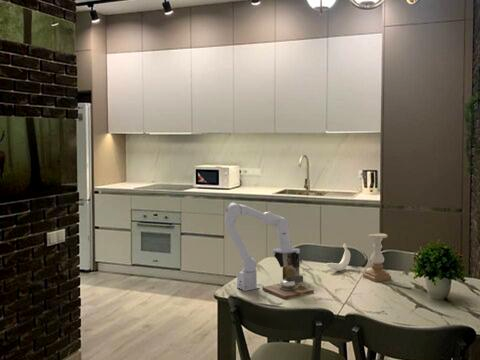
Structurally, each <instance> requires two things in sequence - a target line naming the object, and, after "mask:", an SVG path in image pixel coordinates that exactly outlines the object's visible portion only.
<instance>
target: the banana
mask: <svg viewBox="0 0 480 360" xmlns="http://www.w3.org/2000/svg"><path fill="white" fill-rule="evenodd" d="M342 248H343V249H344V253H343V255H342V258H341V261H340V262H339V263H336V262H335V263H334V262H327V263H326V266H327V268H329V269H331V270H333V271H337V272H342V271H345V270H346V269H347V267H348V266H349V263H350V260H351V252H350V250H349V249H348V247H347V244H346V243H345V242H343V245H342Z"/></svg>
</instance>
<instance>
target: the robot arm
mask: <svg viewBox="0 0 480 360" xmlns="http://www.w3.org/2000/svg"><path fill="white" fill-rule="evenodd" d="M240 215H241V216H243V215H245V216H246V215H249V216H252V217H255V218H257V219H260V220H261V222H262V223H264V224H266V225H268V226H269V225H270V226H272V227H277V228H276V229H277V239H278V242H279V243H278V244H279V248H273V249H272V254H274V255H273V257H274V258H275V259H276V261H277V262H278V264H279V266H280V268H283V253H292V254H291V255H290V256H291V258H292V261H293V267H294V268H295V267H297V259H298V256H299V257H300V253H301V251H300V248H294V247H292V244H291V237H290V231H289V221H288V219H286V218H285V217H283V216H281V215H279V214H278V215H276V214H274V213H272V211H271V210H270V211H265V212H262V211H259V210H257V209H256V208H255V209H254V208H252V207H250V206H248V205H245V204H243V203H242V204H240V203H237V202H230V203H229V204H228V205H227V207H226V209H225V215H224V221H223V222H224V226H225V229H226V230H227V233H228V234H229V236H230V238H231V240H232V242H233V244H234V246H235V248H236V249H237V251H238V253H239V256H240V258H241V260H242V264H243V267H242V269H241V271H240V272H238V273H237V275H236V279H237V281H236V282H237V283H236V288H237V287H238V288H237V289H239V288H240V289H239V290H241V289H242V291H243V292H244V291H245V292H246V291H252V290H257V289H260V288H261V286H259V285H257V283H258V282H257V281H258V280H257V279H258V277H257V262H256V260H255V257H254V256H252V255H251V254H250V253H249V250H248V248H247V246H246V244H245V242H244V241H243V239H242V236H241V235H240V233H239V231H238V229H237V227H236V224H235V223H236V221H237V218H239V216H240Z"/></svg>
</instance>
